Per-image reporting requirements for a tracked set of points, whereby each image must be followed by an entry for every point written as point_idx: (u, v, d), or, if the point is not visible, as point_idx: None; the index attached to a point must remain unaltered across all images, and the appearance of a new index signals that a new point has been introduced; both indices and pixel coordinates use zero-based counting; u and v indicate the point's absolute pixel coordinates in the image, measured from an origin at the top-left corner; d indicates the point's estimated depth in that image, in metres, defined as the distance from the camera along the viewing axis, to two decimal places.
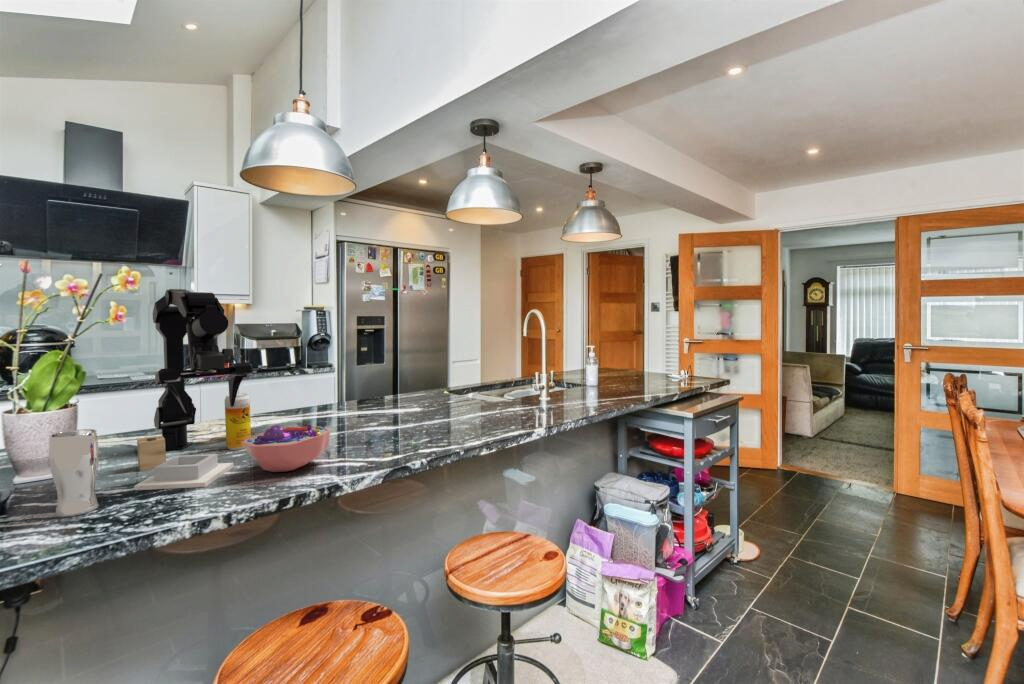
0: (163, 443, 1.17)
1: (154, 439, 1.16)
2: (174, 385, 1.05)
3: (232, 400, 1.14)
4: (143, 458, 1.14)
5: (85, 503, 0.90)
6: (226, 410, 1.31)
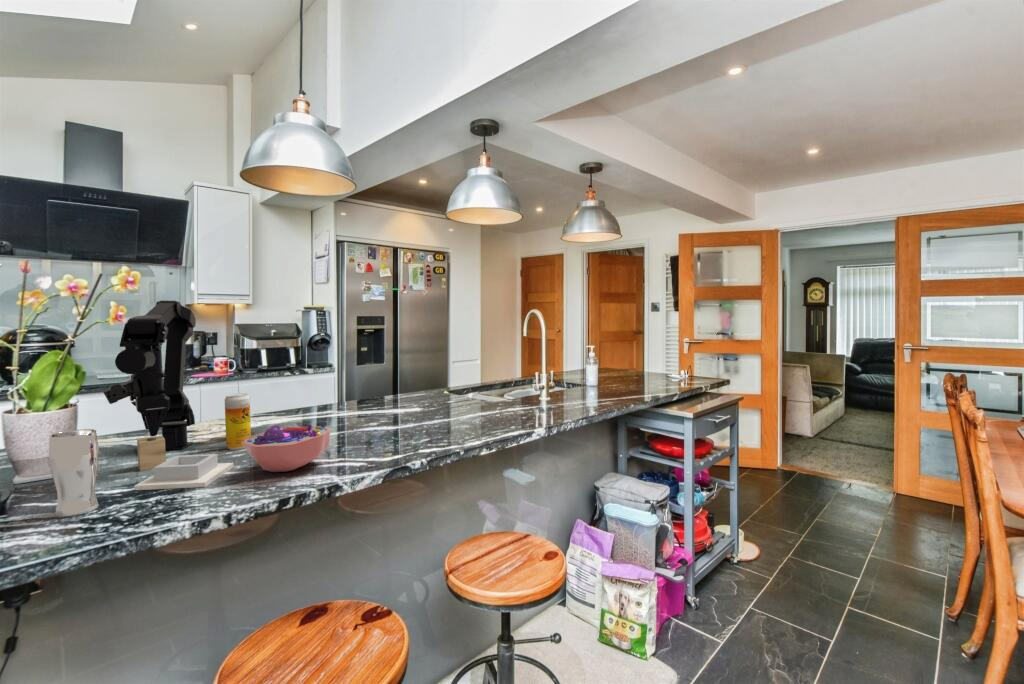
0: (163, 442, 1.17)
1: (154, 439, 1.16)
2: None
3: None
4: (143, 458, 1.14)
5: (85, 503, 0.90)
6: (226, 410, 1.31)
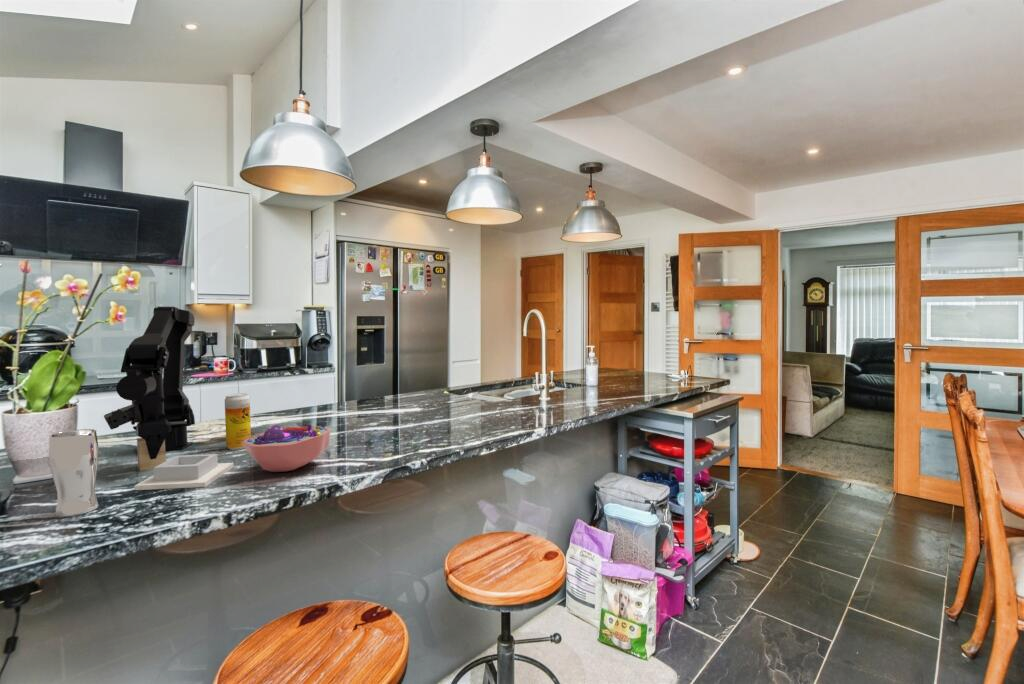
0: (163, 442, 1.17)
1: None
2: None
3: None
4: (143, 458, 1.14)
5: (85, 503, 0.90)
6: (226, 410, 1.31)
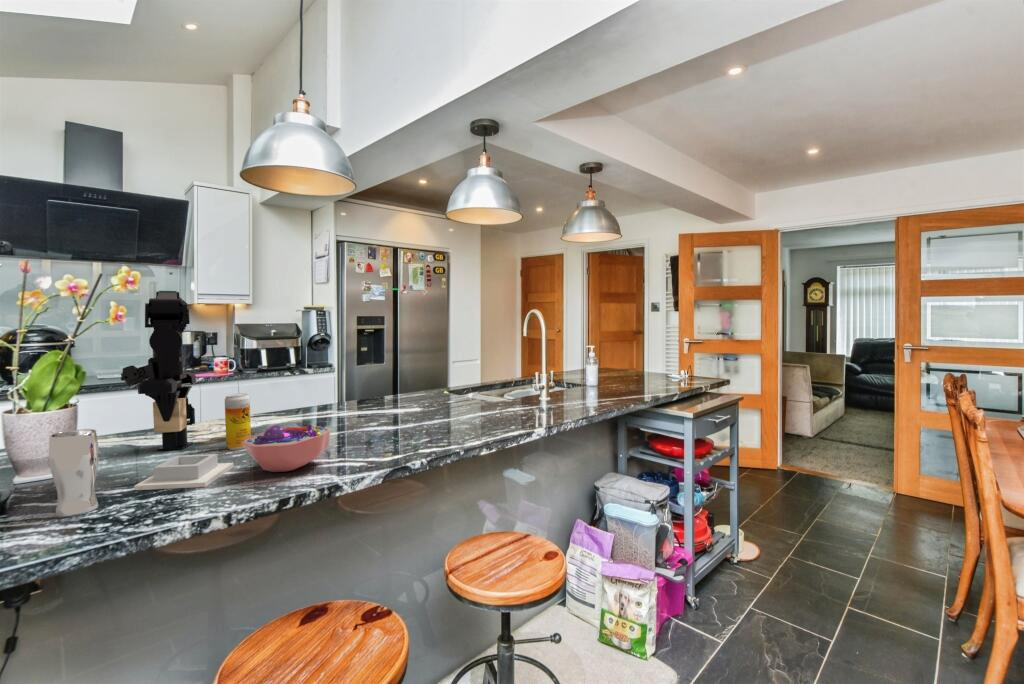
0: (177, 405, 1.09)
1: None
2: None
3: None
4: (156, 419, 1.08)
5: (85, 503, 0.90)
6: (226, 410, 1.31)
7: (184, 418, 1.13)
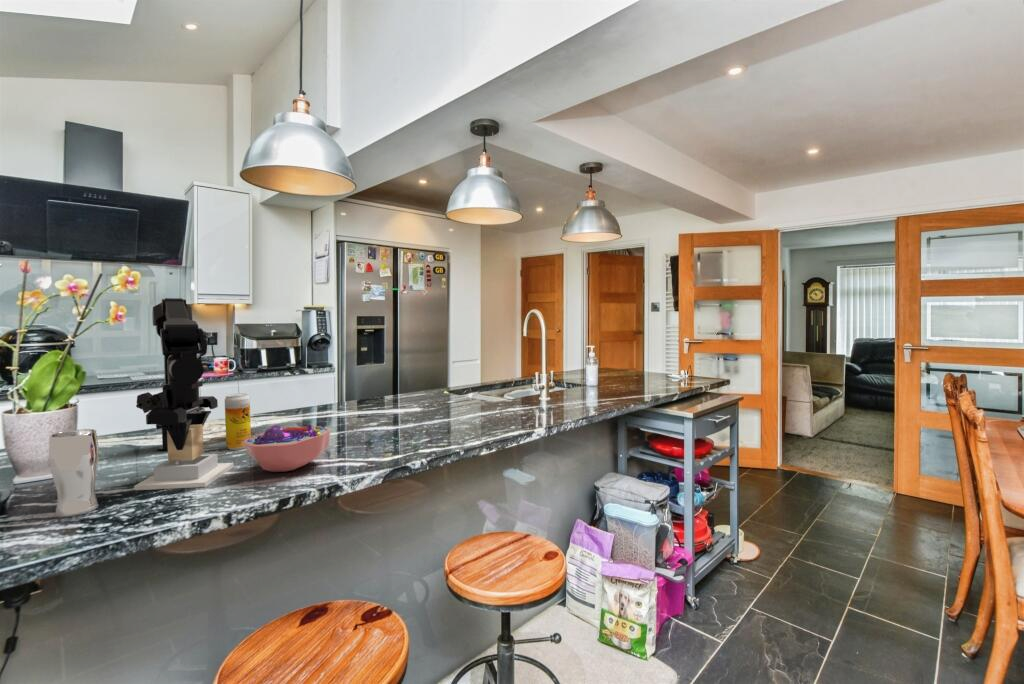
0: (189, 433, 1.06)
1: None
2: None
3: None
4: (170, 447, 1.06)
5: (85, 503, 0.90)
6: (226, 410, 1.31)
7: (200, 446, 1.11)
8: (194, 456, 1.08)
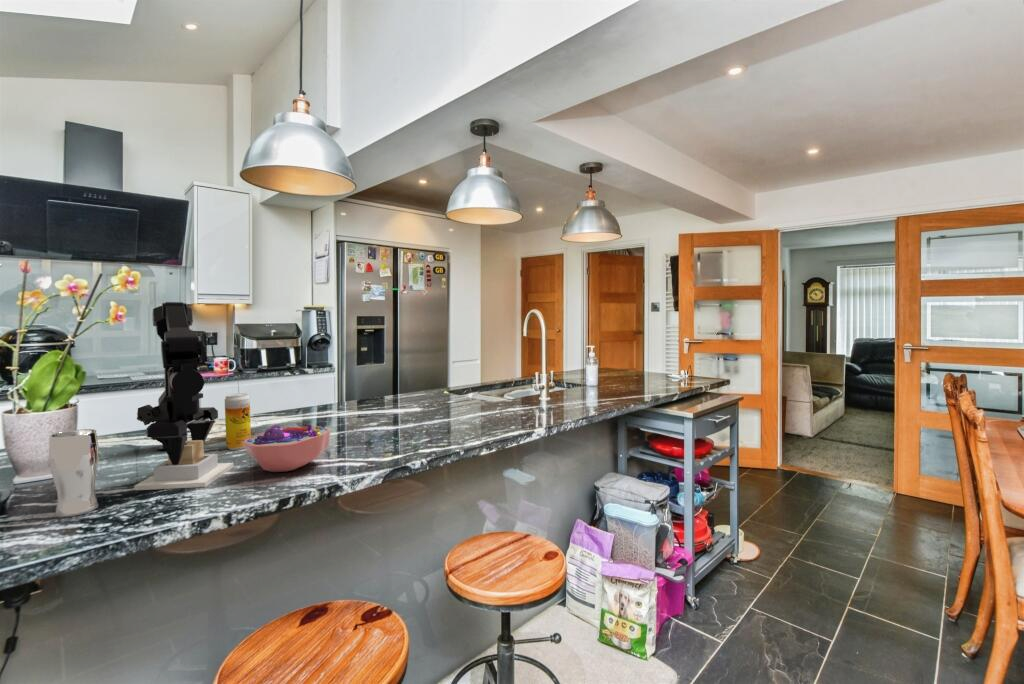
0: (190, 449, 1.07)
1: None
2: None
3: None
4: (171, 463, 1.06)
5: (85, 503, 0.90)
6: (226, 410, 1.31)
7: None
8: None
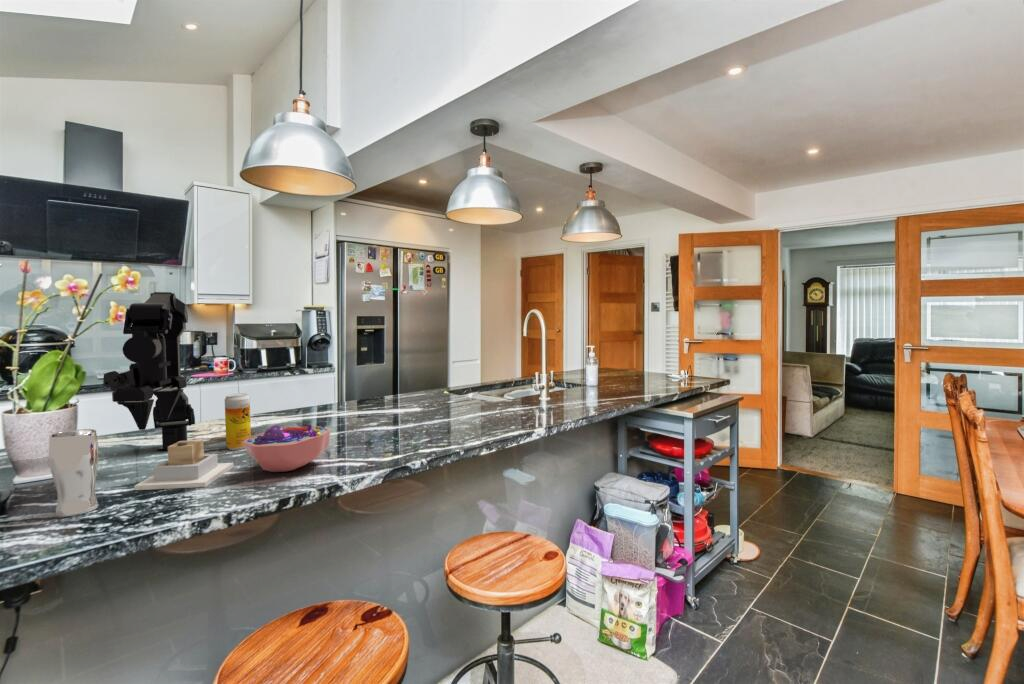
0: (190, 449, 1.07)
1: (182, 444, 1.07)
2: None
3: None
4: (171, 463, 1.06)
5: (85, 503, 0.90)
6: (226, 410, 1.31)
7: None
8: None
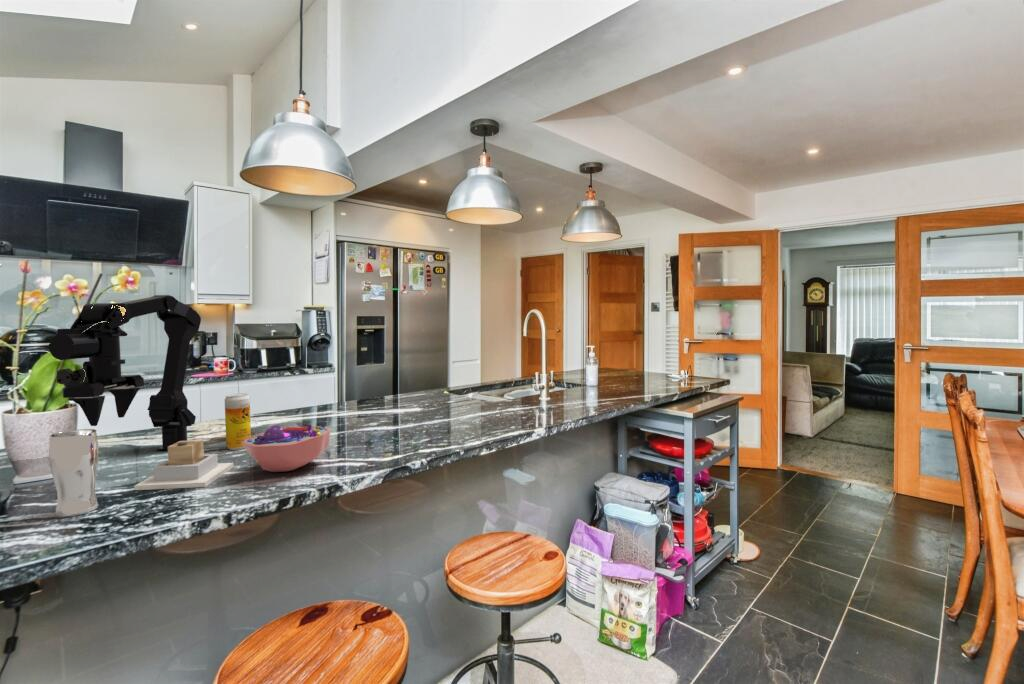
0: (190, 449, 1.07)
1: (182, 444, 1.07)
2: None
3: None
4: (171, 463, 1.06)
5: (85, 503, 0.90)
6: (226, 410, 1.31)
7: None
8: None
